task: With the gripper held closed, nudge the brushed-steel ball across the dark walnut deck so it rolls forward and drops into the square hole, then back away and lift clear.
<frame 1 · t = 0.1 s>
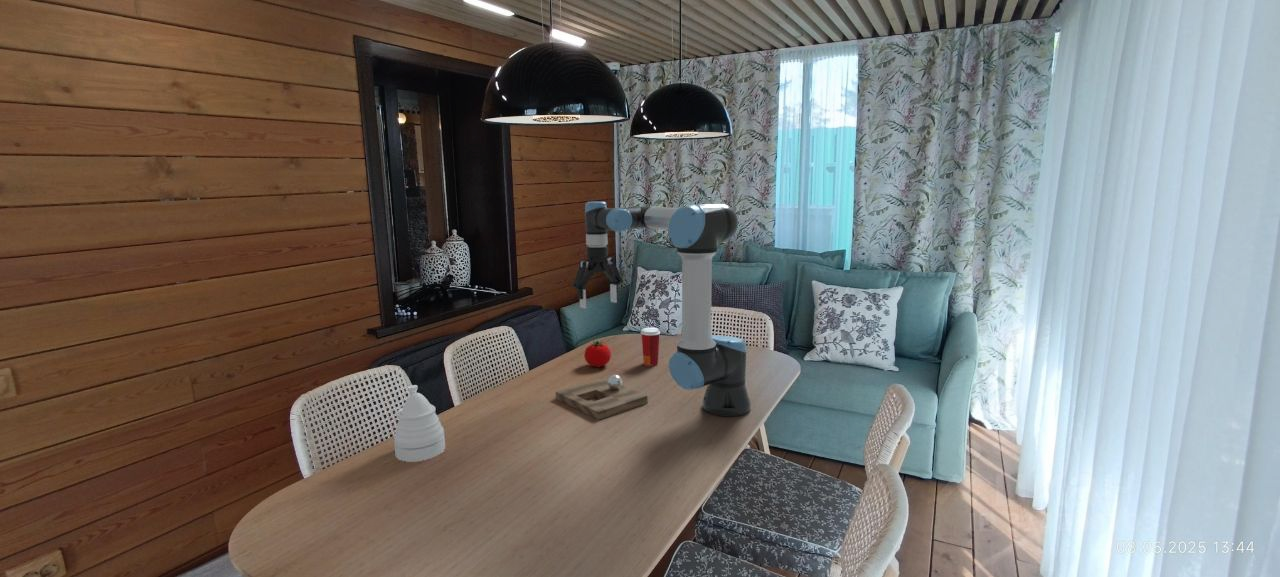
hand: (598, 305, 211), 28 cm above the table, fingers open, 13 cm apart
steel ball: (614, 382, 198), point 5 cm above the table, touching walnut deck
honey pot: (420, 451, 161), on the table
walnut deck: (601, 400, 195), on the table
paper cup: (650, 364, 233), on the table
tomato: (598, 366, 231), on the table
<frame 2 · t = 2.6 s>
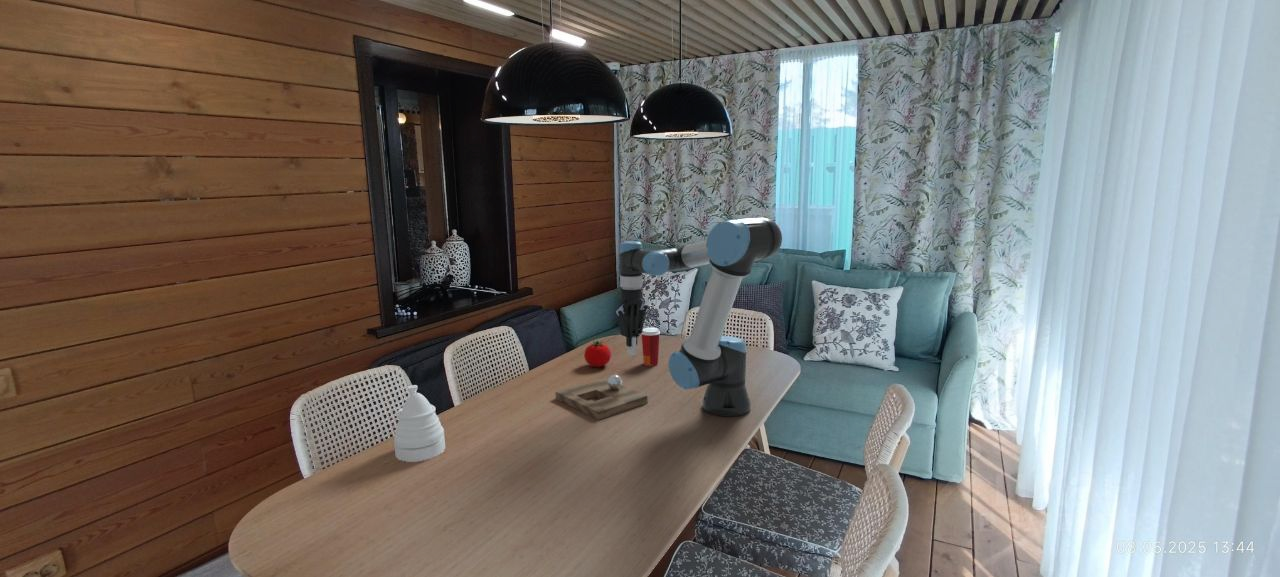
hand: (632, 354, 202), 13 cm above the table, fingers closed
nothing on the table moved.
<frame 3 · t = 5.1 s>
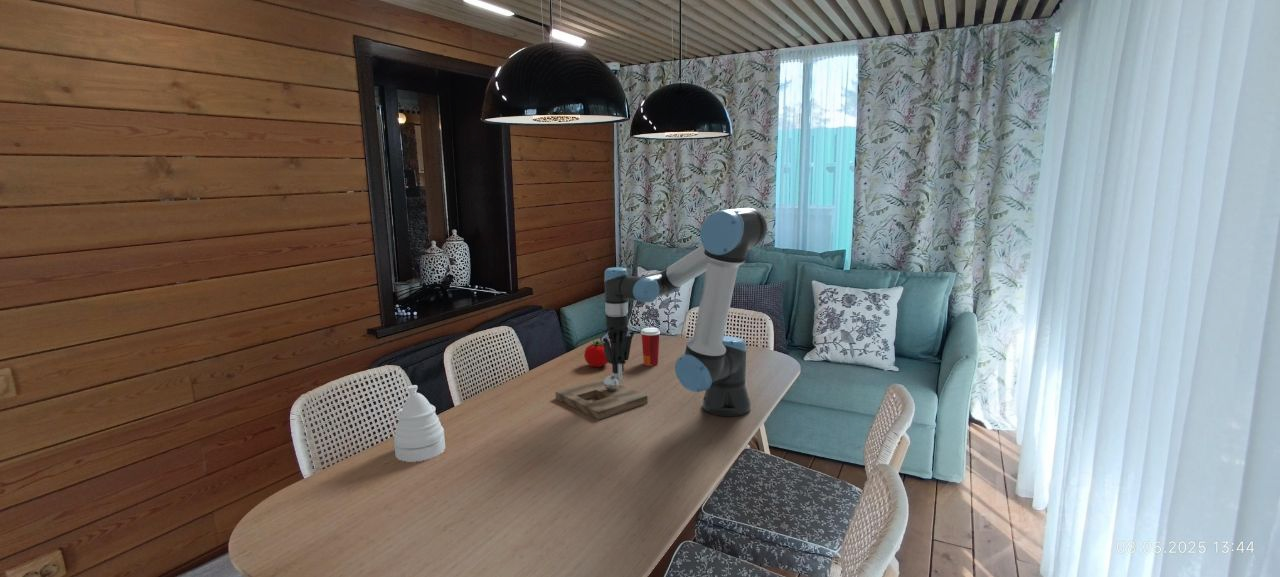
hand: (618, 381, 199), 5 cm above the table, fingers closed
steel ball: (611, 383, 197), point 5 cm above the table, tilted 31°, touching gripper, walnut deck
everything else where it was.
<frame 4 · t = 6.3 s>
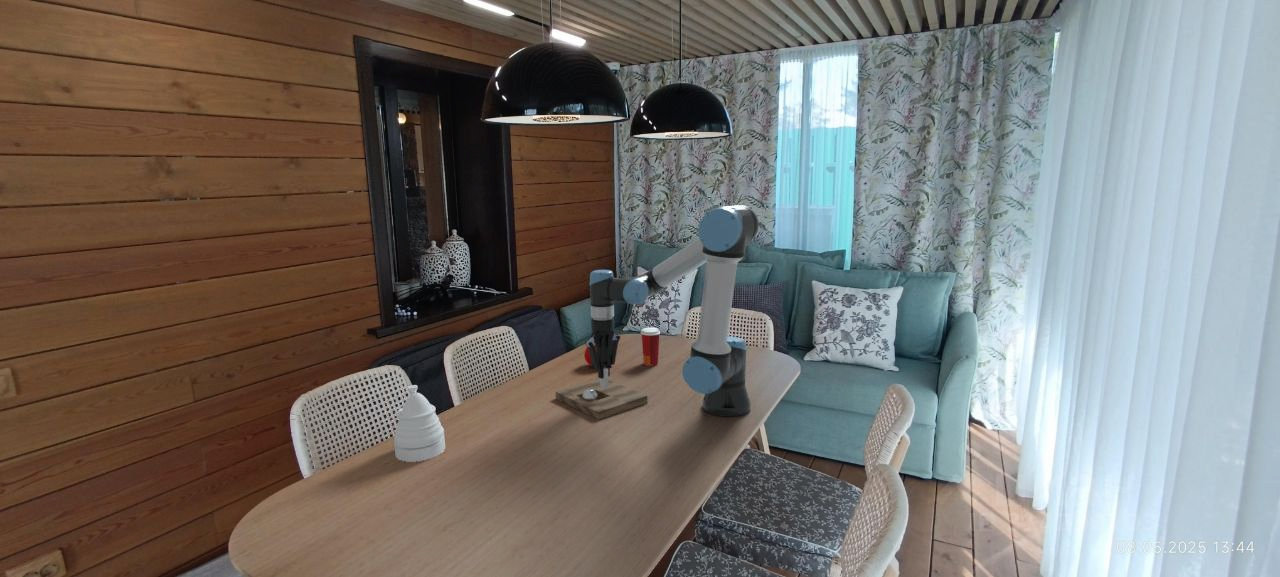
hand: (604, 386, 195), 4 cm above the table, fingers closed
steel ball: (589, 396, 192), point 2 cm above the table, tilted 110°
everything else where it was.
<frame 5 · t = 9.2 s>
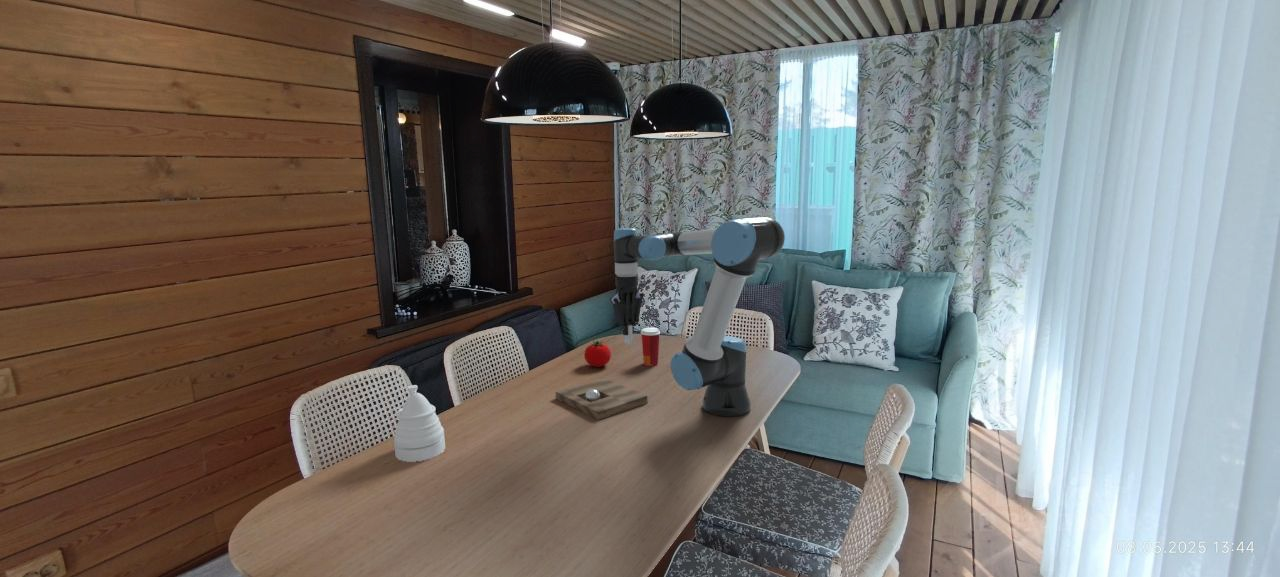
hand: (628, 343, 199), 17 cm above the table, fingers closed
steel ball: (592, 396, 192), point 2 cm above the table, tilted 126°
everything else where it was.
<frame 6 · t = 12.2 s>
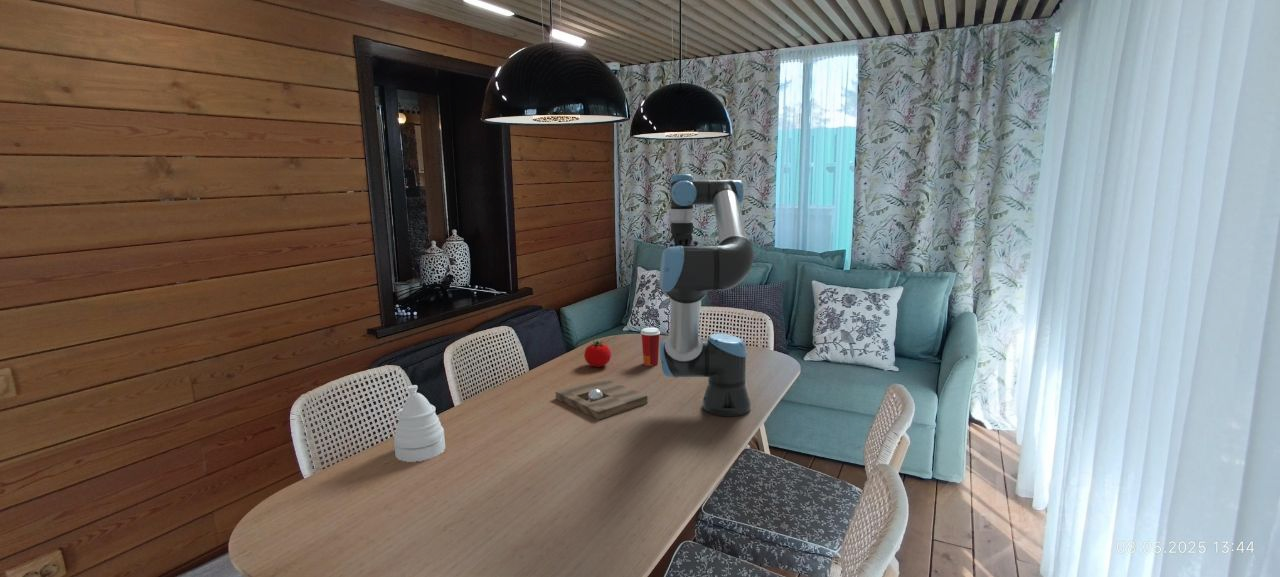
hand: (682, 291, 199), 34 cm above the table, fingers closed
steel ball: (595, 396, 192), point 2 cm above the table, tilted 140°
everything else where it was.
at the end: steel ball 1.1 cm from the target spot on the walnut deck, point 2.5 cm above the walnut deck's base; steel ball moved 9.3 cm from its start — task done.
